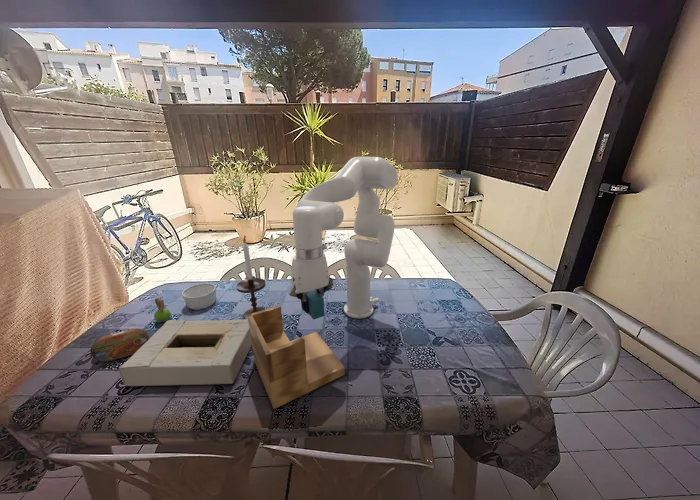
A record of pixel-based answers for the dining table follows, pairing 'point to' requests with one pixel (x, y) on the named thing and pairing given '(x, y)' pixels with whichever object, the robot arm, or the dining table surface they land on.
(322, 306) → the teal rectangular block
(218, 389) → the dining table surface
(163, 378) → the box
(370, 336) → the dining table surface
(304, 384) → the shelf
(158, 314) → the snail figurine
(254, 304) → the candlestick
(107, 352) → the tin
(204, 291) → the ramekin
